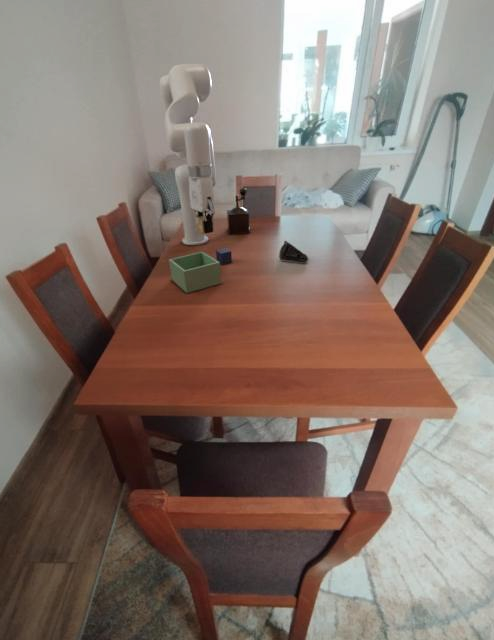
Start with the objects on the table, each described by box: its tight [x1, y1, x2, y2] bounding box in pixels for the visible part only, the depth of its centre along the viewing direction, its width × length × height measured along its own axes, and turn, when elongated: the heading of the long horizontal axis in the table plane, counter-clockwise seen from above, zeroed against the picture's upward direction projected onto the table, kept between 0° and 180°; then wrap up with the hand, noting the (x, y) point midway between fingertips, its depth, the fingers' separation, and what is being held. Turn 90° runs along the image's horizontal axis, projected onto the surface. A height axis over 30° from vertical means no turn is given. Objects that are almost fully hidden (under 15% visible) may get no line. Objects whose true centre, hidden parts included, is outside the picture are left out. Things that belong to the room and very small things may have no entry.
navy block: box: [215, 247, 233, 266], centre depth 133 cm, size 5×5×5 cm
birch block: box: [196, 214, 215, 235], centre depth 116 cm, size 5×5×5 cm
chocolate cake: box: [278, 240, 309, 265], centre depth 133 cm, size 10×7×12 cm
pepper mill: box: [226, 187, 251, 236], centre depth 164 cm, size 16×11×18 cm
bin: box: [168, 251, 222, 294], centre depth 118 cm, size 14×14×8 cm
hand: (205, 230), depth 117 cm, fingers closed on birch block, 4 cm apart
